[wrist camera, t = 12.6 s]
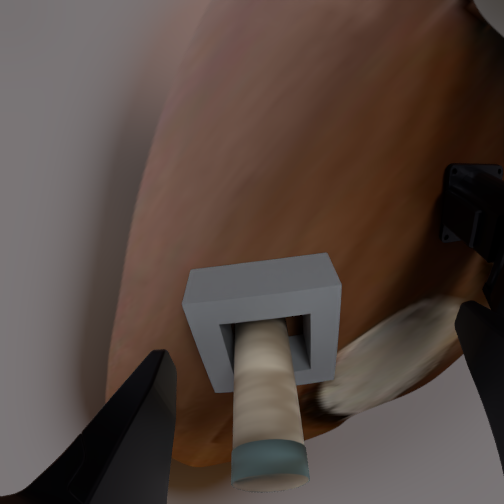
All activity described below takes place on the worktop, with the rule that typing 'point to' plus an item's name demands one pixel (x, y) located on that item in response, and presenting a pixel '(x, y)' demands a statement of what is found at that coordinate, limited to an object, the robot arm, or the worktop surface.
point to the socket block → (266, 312)
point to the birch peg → (266, 411)
